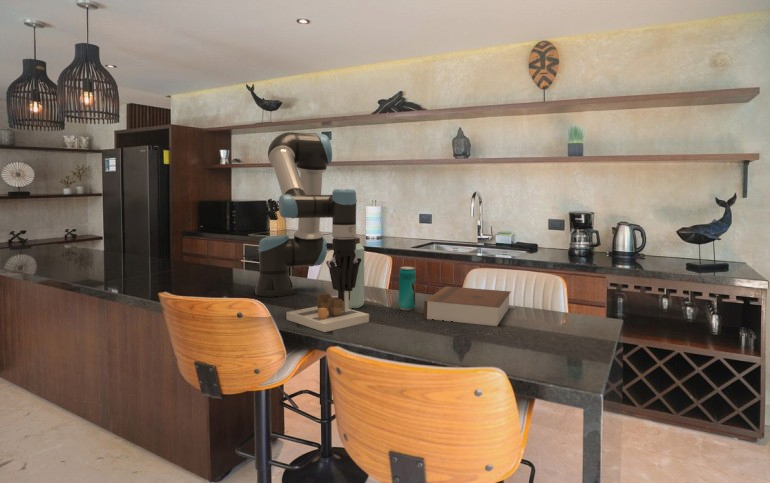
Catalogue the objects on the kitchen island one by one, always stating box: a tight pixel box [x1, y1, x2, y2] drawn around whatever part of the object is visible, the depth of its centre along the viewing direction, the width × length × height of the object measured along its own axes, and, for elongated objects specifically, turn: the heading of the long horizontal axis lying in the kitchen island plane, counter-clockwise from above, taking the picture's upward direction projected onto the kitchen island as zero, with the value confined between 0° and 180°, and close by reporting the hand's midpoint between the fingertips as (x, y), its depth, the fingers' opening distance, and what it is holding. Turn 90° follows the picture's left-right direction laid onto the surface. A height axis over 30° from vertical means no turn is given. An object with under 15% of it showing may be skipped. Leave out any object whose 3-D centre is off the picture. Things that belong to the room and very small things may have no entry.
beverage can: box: [398, 266, 417, 312], centre depth 182 cm, size 6×6×15 cm
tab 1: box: [317, 292, 331, 310], centre depth 169 cm, size 3×3×5 cm
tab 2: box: [329, 297, 342, 316], centre depth 162 cm, size 3×3×5 cm
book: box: [423, 285, 512, 327], centre depth 178 cm, size 24×28×7 cm
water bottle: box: [336, 236, 365, 310], centre depth 185 cm, size 10×10×25 cm
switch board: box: [286, 305, 370, 333], centre depth 165 cm, size 20×18×6 cm
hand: (344, 310), depth 165 cm, fingers closed
